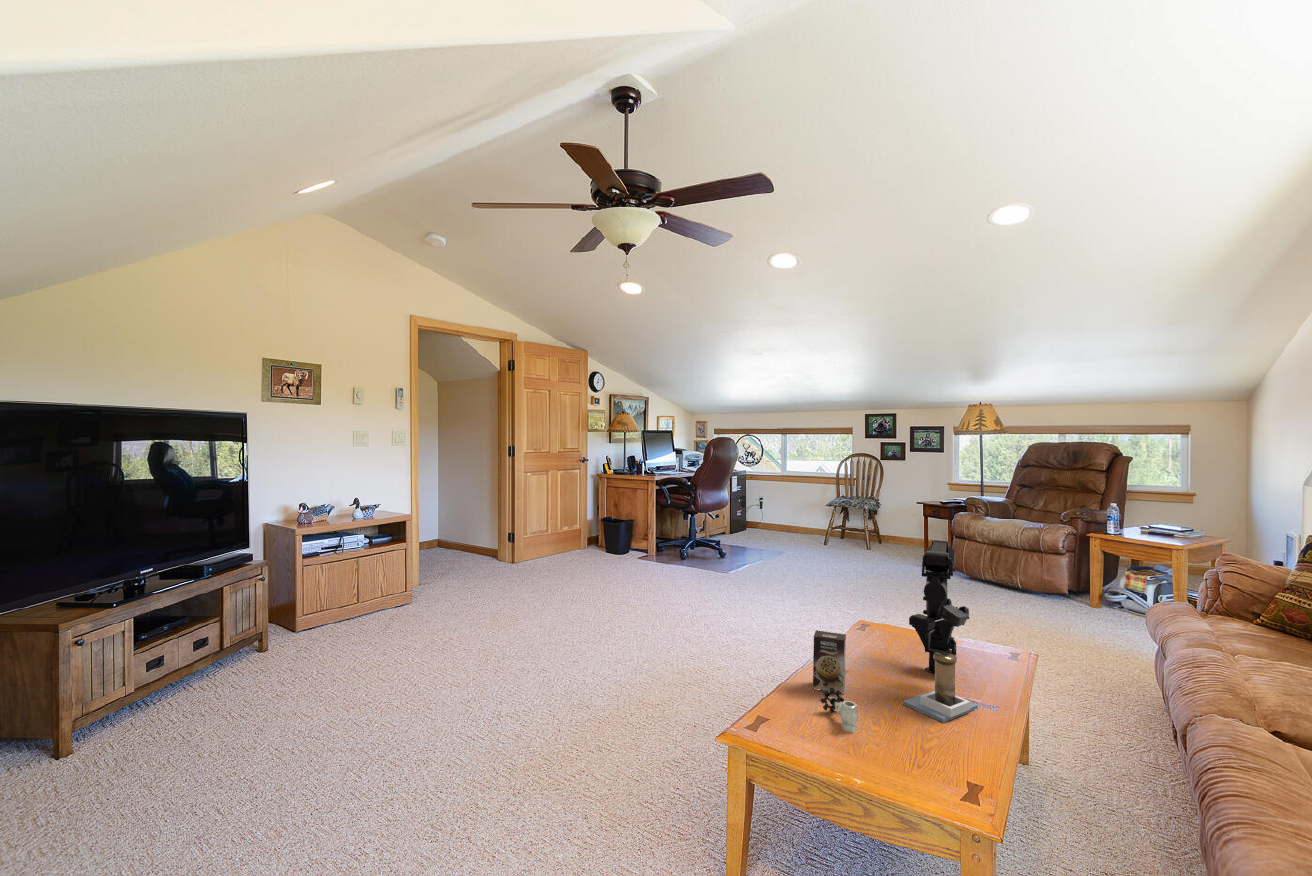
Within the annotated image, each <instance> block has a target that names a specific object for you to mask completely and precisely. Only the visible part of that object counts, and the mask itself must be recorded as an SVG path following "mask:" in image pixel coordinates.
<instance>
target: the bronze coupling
mask: <svg viewBox="0 0 1312 876" xmlns="http://www.w3.org/2000/svg"><path fill="white" fill-rule="evenodd" d="M933 658H934V660H935V673H934V690H935V701H937V702H940V703H942V704H944V705H947V706H949V707H950V706H953V705H955V696H956V663H958V662H957V661H958V657H957V655H956V656H955V655H953V654H950V653H945V652H935V653H934V654H933Z"/></svg>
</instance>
